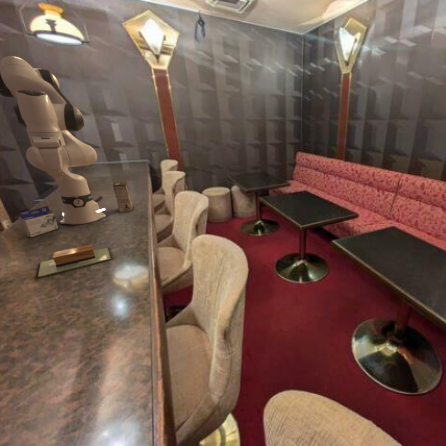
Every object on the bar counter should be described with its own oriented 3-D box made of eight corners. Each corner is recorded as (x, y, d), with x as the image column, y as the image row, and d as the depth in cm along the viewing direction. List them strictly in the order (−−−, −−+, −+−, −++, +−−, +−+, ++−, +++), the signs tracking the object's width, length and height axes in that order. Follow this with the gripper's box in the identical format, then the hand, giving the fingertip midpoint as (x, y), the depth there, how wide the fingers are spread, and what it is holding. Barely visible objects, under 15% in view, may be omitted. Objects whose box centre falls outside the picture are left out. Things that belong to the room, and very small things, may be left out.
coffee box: (120, 208, 152) (113, 182, 146) (132, 206, 155) (126, 181, 149) (119, 212, 145) (112, 185, 139) (132, 210, 148) (126, 184, 142)
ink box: (31, 237, 110) (21, 213, 106) (27, 237, 111) (17, 213, 107) (59, 228, 121) (51, 206, 117) (55, 227, 121) (47, 205, 117)
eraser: (57, 261, 92) (53, 252, 90) (94, 253, 99) (91, 244, 97) (56, 267, 88) (53, 257, 87) (95, 258, 95) (92, 249, 94)
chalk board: (41, 263, 91) (40, 262, 91) (107, 248, 104) (107, 247, 104) (38, 277, 83) (37, 276, 83) (110, 259, 96) (110, 258, 95)
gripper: (37, 139, 94) (50, 175, 99) (32, 142, 80) (47, 184, 85) (60, 139, 98) (70, 173, 103) (58, 142, 84) (71, 182, 89)
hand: (60, 178), depth 94 cm, fingers open, 8 cm apart
